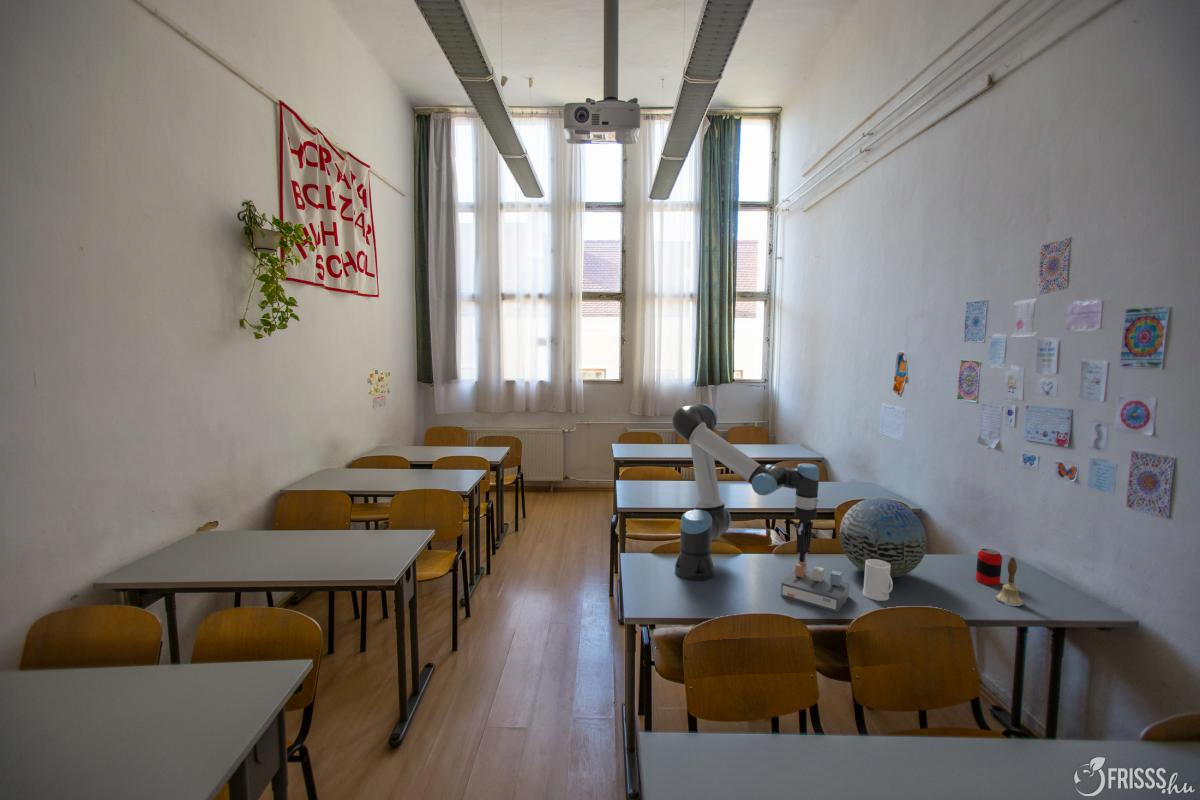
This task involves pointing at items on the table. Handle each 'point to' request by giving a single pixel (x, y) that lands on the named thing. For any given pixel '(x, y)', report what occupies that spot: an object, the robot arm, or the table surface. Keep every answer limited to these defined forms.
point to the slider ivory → (818, 574)
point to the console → (815, 591)
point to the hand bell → (1010, 586)
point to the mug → (877, 580)
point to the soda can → (989, 567)
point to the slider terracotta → (800, 570)
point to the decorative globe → (883, 535)
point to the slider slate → (836, 578)
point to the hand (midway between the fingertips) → (802, 569)
